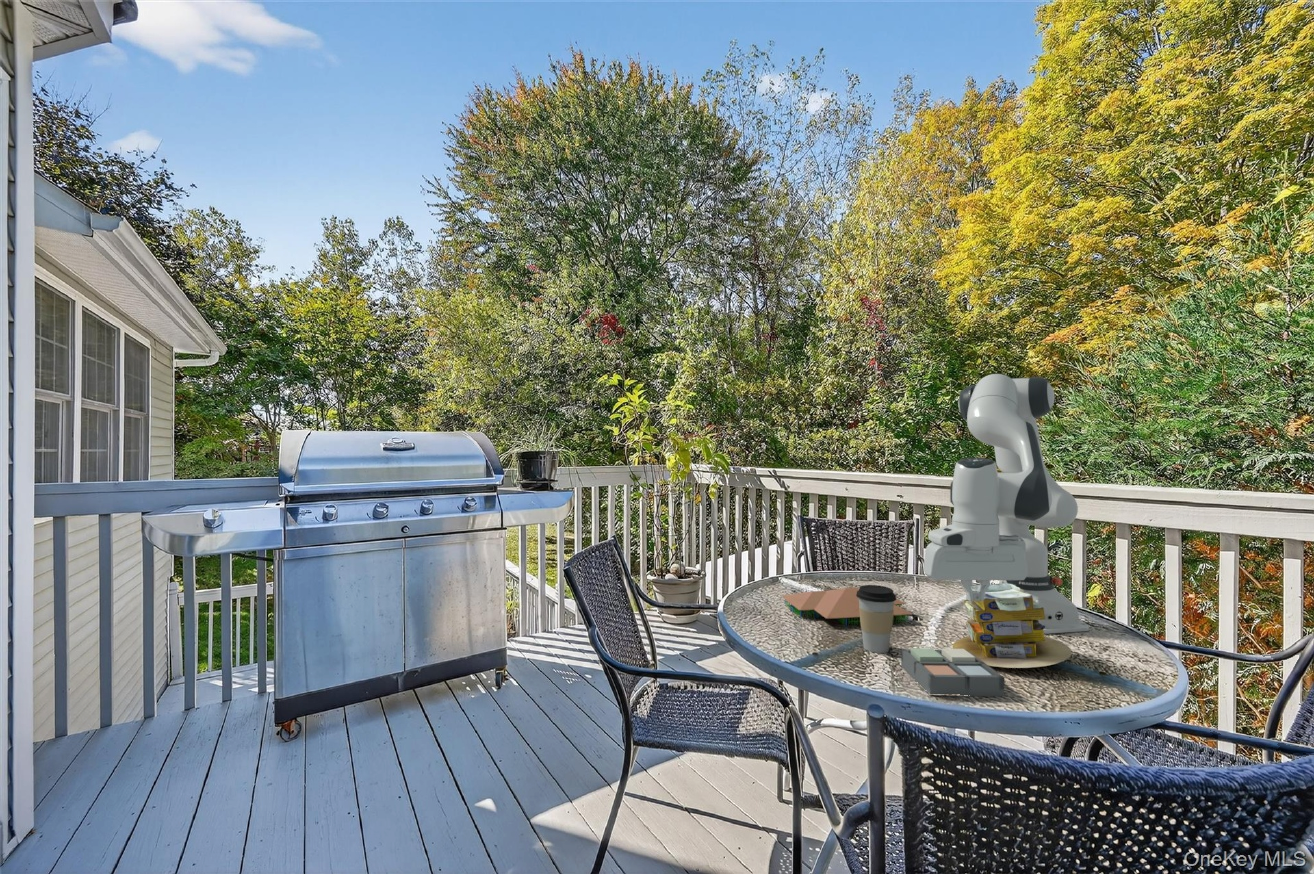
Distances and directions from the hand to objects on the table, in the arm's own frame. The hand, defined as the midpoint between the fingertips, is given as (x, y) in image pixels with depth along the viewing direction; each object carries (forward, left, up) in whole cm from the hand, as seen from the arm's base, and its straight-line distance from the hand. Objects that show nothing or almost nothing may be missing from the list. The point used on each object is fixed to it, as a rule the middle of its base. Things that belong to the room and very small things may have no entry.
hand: (975, 600), depth 123 cm
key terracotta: (+7, 0, -17) cm, 18 cm away
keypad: (+4, -3, -19) cm, 19 cm away
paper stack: (-17, -18, -19) cm, 32 cm away
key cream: (0, -7, -16) cm, 17 cm away
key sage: (+7, -7, -16) cm, 19 cm away
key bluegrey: (0, 0, -17) cm, 17 cm away
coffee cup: (+13, -22, -19) cm, 32 cm away
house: (+12, -50, -19) cm, 55 cm away
